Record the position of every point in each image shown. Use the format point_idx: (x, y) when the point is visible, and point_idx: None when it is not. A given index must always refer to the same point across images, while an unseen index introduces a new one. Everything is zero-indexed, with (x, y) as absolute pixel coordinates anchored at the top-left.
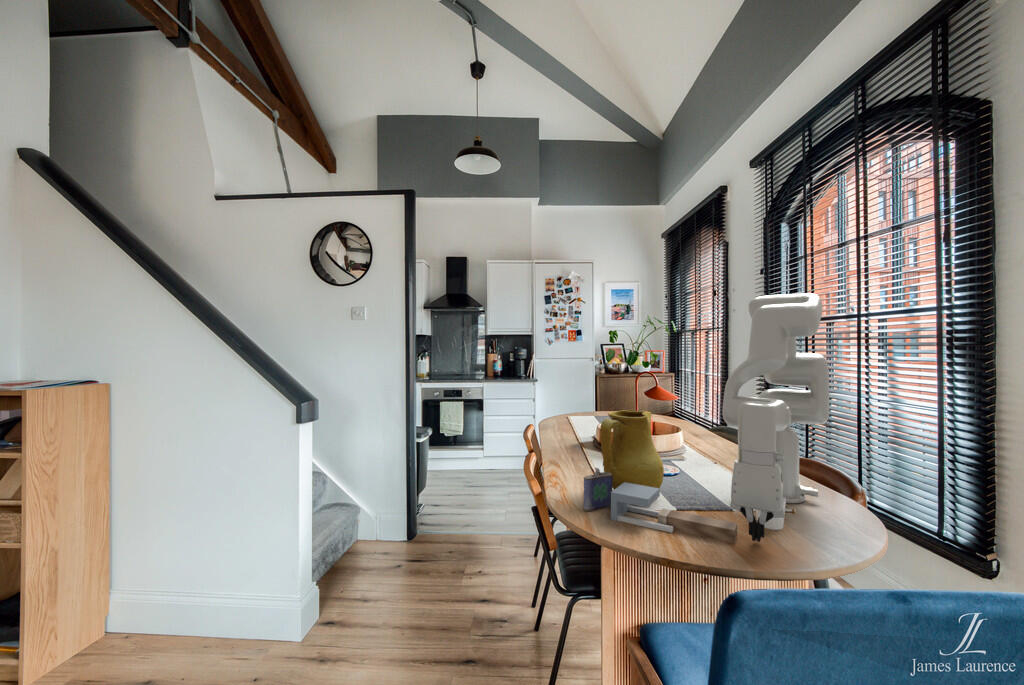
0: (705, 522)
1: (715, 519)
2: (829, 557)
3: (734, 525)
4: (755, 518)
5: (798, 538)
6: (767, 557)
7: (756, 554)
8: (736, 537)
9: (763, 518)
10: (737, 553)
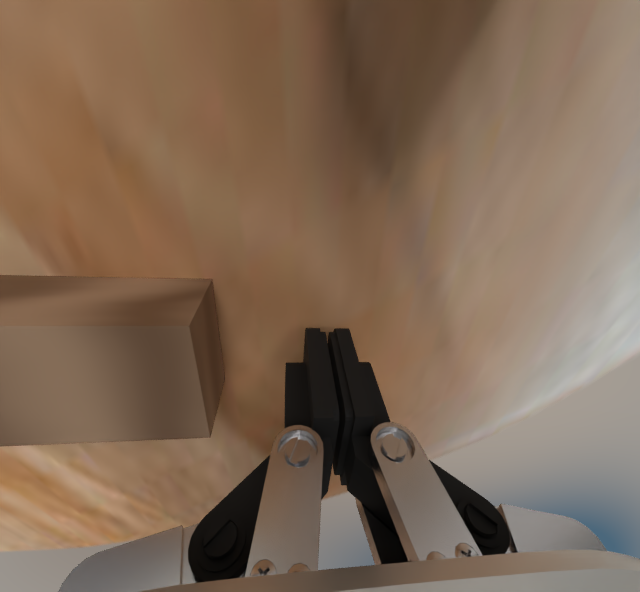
0: (2, 424)
1: (14, 341)
2: (612, 316)
3: (186, 377)
4: (332, 452)
5: (593, 116)
6: None
7: None
8: (216, 313)
9: (392, 530)
10: (254, 446)
